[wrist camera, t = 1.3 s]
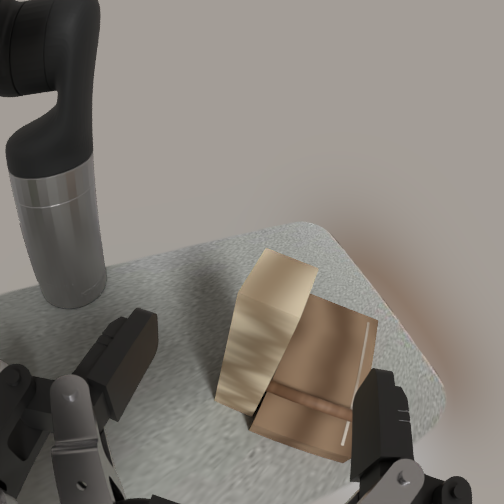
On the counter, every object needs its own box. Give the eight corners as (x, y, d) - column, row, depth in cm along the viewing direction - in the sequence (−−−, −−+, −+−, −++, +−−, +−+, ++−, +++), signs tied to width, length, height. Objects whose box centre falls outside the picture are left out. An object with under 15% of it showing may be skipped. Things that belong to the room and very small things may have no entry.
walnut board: (248, 430, 27) (252, 423, 26) (303, 302, 42) (307, 292, 41) (342, 463, 26) (351, 457, 24) (371, 329, 40) (378, 320, 39)
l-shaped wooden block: (214, 400, 29) (237, 292, 19) (234, 363, 33) (265, 247, 23) (343, 449, 27) (441, 370, 17) (353, 409, 31) (439, 317, 21)
